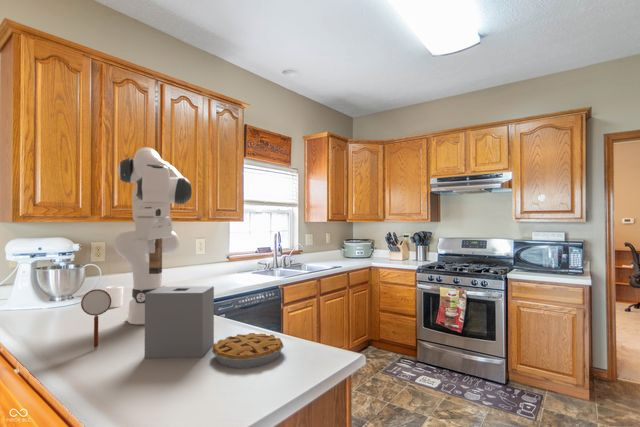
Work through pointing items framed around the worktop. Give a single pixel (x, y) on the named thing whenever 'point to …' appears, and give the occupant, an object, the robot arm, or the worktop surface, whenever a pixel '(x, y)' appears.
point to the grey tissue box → (179, 322)
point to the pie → (247, 350)
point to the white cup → (115, 295)
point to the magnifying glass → (96, 307)
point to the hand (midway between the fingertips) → (155, 252)
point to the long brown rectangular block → (156, 258)
